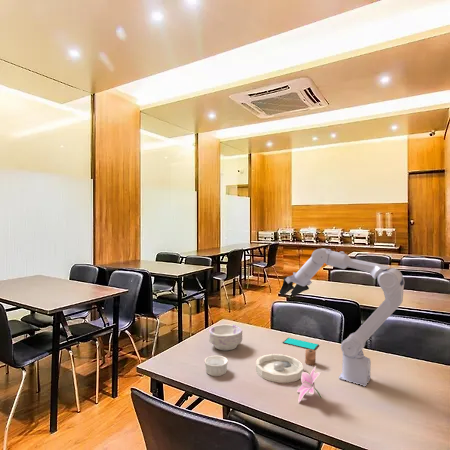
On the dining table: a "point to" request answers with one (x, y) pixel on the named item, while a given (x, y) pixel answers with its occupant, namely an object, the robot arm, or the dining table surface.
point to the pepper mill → (310, 357)
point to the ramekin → (216, 365)
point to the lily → (307, 383)
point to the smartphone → (301, 343)
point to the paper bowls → (225, 336)
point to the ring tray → (279, 376)
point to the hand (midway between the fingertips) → (286, 294)
